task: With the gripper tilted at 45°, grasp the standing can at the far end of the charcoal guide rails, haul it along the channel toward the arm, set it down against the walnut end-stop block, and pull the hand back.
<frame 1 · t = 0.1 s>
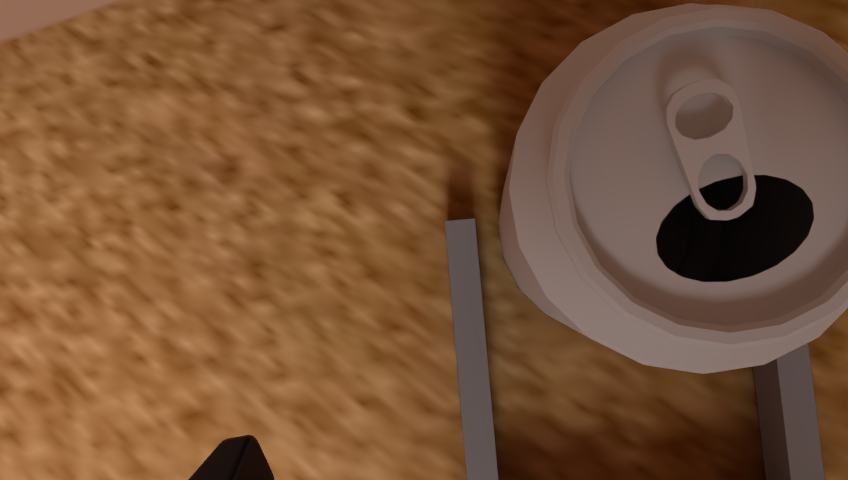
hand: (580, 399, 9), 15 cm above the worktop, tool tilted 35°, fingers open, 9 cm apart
guide rails: (620, 382, 23), on the worktop
can: (602, 226, 24), on the worktop
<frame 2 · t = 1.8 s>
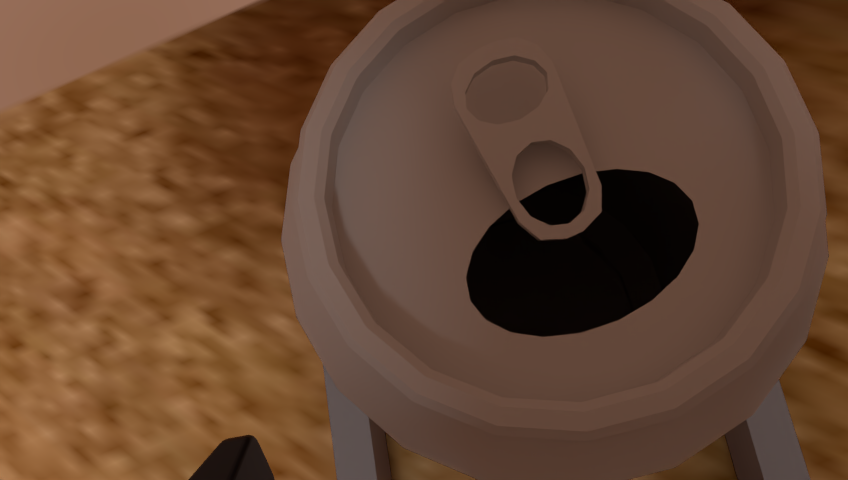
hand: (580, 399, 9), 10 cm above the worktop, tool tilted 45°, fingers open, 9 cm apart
can: (525, 320, 19), on the worktop
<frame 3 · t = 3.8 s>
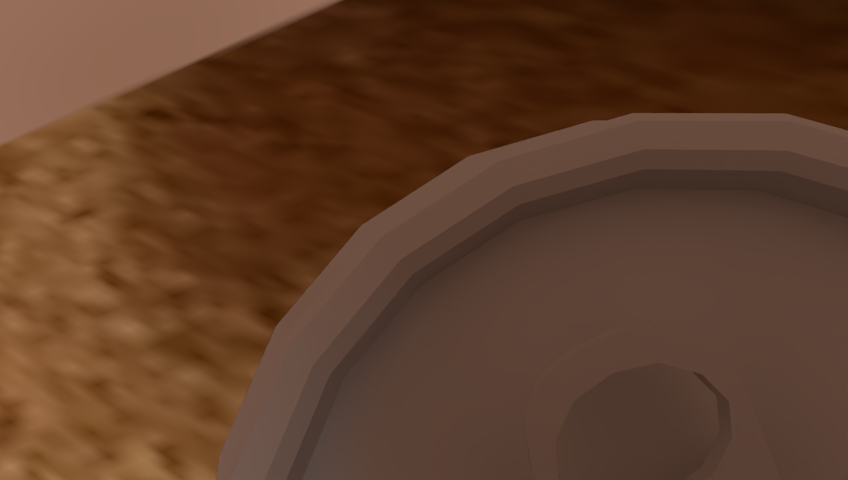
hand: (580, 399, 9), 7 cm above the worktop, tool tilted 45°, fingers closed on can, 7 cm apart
can: (564, 471, 15), on the worktop, touching gripper
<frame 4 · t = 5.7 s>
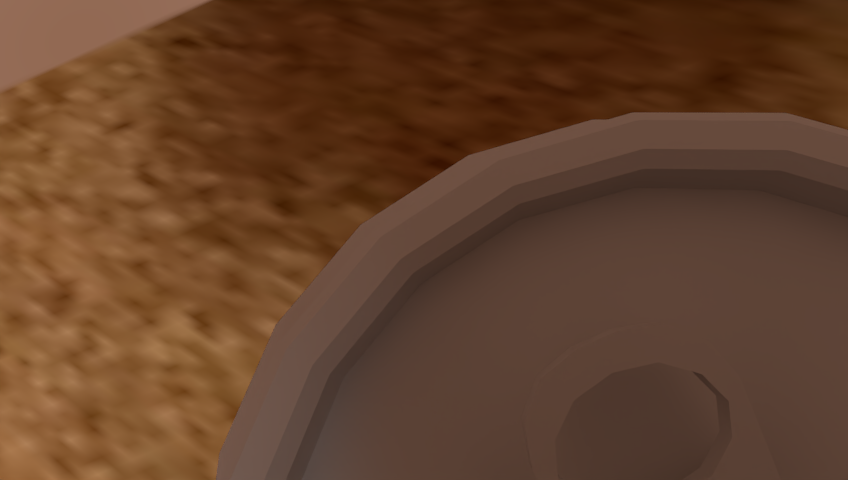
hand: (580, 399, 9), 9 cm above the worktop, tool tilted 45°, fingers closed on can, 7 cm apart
can: (564, 469, 15), point 2 cm above the worktop, touching gripper
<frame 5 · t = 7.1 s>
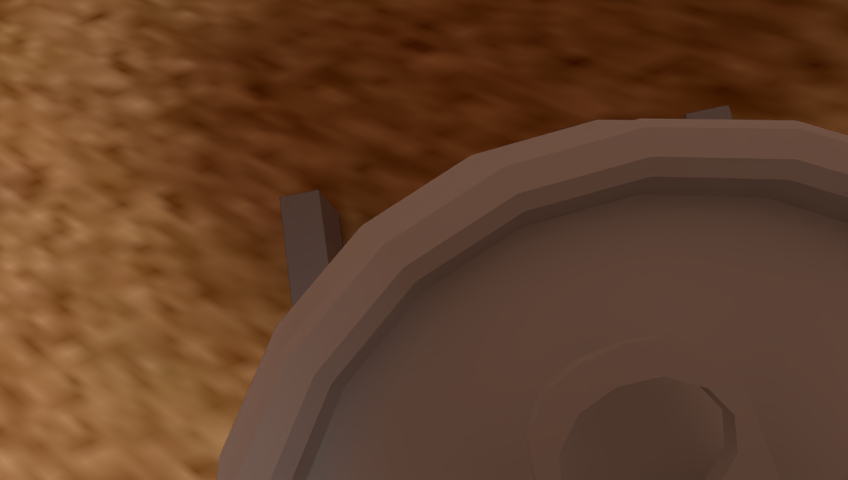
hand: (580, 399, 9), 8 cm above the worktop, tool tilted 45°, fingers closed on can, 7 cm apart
guide rails: (547, 405, 16), on the worktop
can: (561, 459, 15), point 1 cm above the worktop, touching gripper
when the fingers open (8 cm above the worktop, at t = 7.9 s): can drops 1 cm, on the worktop.
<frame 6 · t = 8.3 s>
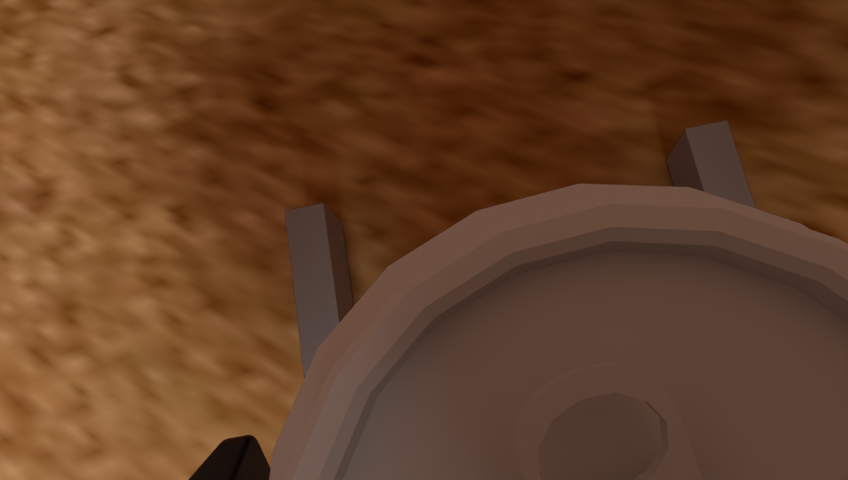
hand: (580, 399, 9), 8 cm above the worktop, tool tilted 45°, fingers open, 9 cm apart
guide rails: (549, 416, 17), on the worktop
can: (558, 466, 17), on the worktop
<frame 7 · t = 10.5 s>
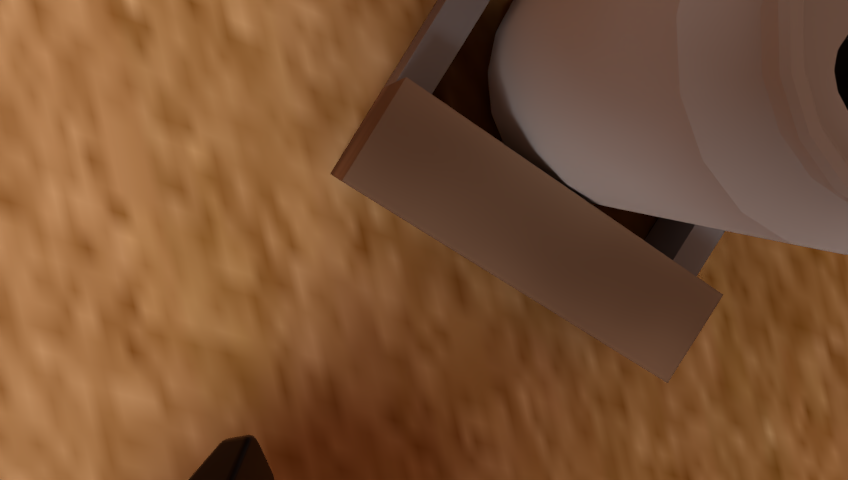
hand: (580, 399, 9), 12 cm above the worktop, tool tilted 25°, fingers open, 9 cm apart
guide rails: (613, 50, 21), on the worktop
stop block: (504, 225, 21), on the worktop
can: (588, 83, 21), on the worktop
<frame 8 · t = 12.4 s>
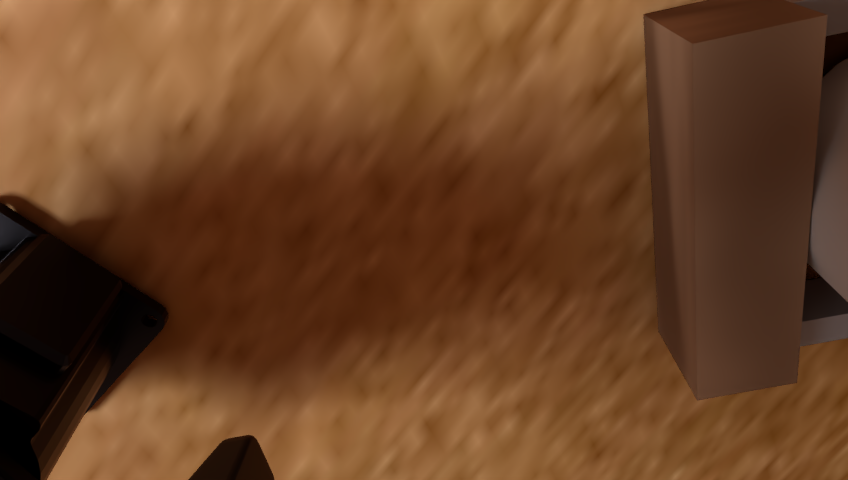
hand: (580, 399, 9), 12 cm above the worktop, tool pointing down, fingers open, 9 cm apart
stop block: (700, 183, 21), on the worktop
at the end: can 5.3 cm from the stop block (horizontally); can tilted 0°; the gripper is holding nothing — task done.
